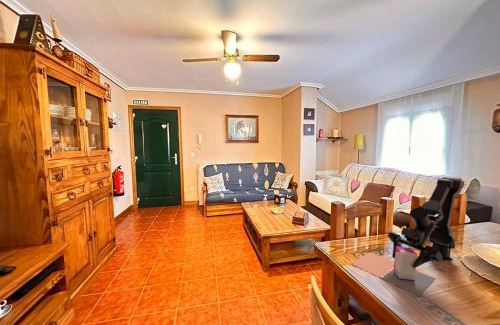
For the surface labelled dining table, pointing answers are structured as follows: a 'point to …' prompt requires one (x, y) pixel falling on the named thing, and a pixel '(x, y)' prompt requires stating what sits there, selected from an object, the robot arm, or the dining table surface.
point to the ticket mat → (392, 273)
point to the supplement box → (405, 263)
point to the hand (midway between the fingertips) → (402, 262)
